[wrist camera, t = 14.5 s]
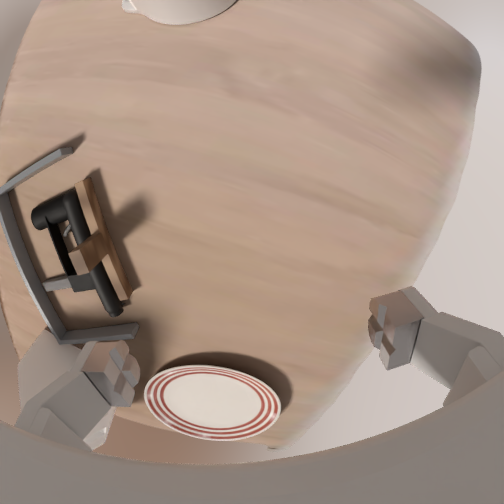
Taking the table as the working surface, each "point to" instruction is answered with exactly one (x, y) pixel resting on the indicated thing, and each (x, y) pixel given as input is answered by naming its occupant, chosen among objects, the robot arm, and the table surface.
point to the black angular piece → (72, 211)
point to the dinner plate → (212, 402)
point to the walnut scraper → (98, 243)
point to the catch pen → (4, 214)
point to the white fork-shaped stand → (54, 377)
